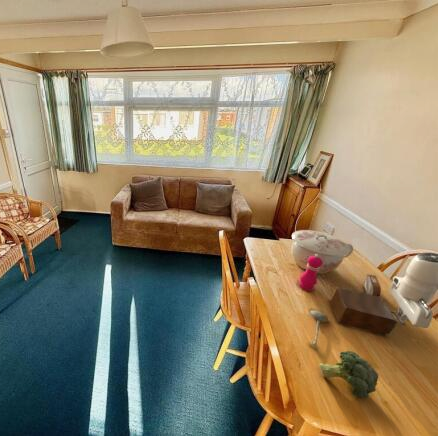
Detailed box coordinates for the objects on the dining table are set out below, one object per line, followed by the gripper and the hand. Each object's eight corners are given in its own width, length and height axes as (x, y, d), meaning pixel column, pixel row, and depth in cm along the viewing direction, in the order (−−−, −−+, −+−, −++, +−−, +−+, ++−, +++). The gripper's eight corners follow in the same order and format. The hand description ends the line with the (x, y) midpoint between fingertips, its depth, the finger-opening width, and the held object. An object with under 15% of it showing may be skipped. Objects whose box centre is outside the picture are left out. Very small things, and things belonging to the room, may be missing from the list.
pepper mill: (313, 284, 120) (325, 253, 111) (314, 293, 114) (327, 260, 106) (297, 280, 123) (308, 249, 115) (297, 288, 118) (309, 256, 109)
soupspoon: (327, 317, 102) (310, 310, 106) (329, 311, 100) (312, 305, 104) (323, 352, 86) (303, 343, 90) (326, 346, 85) (305, 336, 89)
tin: (376, 304, 108) (384, 290, 104) (367, 301, 109) (375, 288, 105) (369, 285, 119) (376, 272, 116) (361, 283, 121) (367, 270, 117)
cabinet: (371, 311, 104) (380, 296, 100) (385, 336, 92) (395, 320, 89) (330, 301, 109) (337, 286, 106) (338, 323, 98) (346, 307, 94)
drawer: (389, 315, 101) (397, 303, 97) (404, 338, 90) (413, 325, 87) (337, 302, 108) (342, 290, 105) (345, 322, 97) (351, 309, 94)
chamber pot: (277, 264, 136) (286, 234, 127) (293, 247, 152) (302, 219, 144) (334, 289, 117) (349, 255, 108) (345, 266, 134) (359, 236, 125)
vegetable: (315, 346, 86) (367, 349, 78) (325, 387, 81) (382, 394, 73) (314, 352, 77) (373, 356, 69) (326, 398, 72) (391, 408, 64)
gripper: (445, 313, 78) (427, 341, 83) (412, 277, 95) (399, 302, 100) (419, 308, 80) (404, 335, 86) (391, 274, 97) (380, 299, 103)
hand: (401, 317), depth 93 cm, fingers closed, pressing on drawer
